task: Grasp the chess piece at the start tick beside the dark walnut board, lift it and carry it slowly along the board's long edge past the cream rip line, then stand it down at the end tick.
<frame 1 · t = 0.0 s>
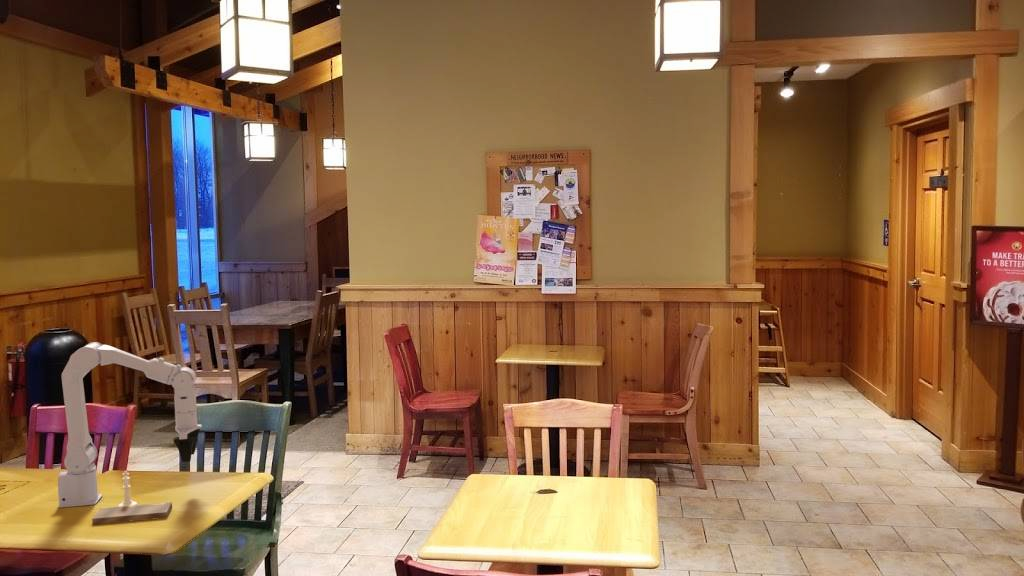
hand: (188, 458, 245), 10 cm above the table, tool pointing down, fingers open, 7 cm apart
walnut board: (133, 515, 228), on the table
chess piece: (127, 507, 235), on the table
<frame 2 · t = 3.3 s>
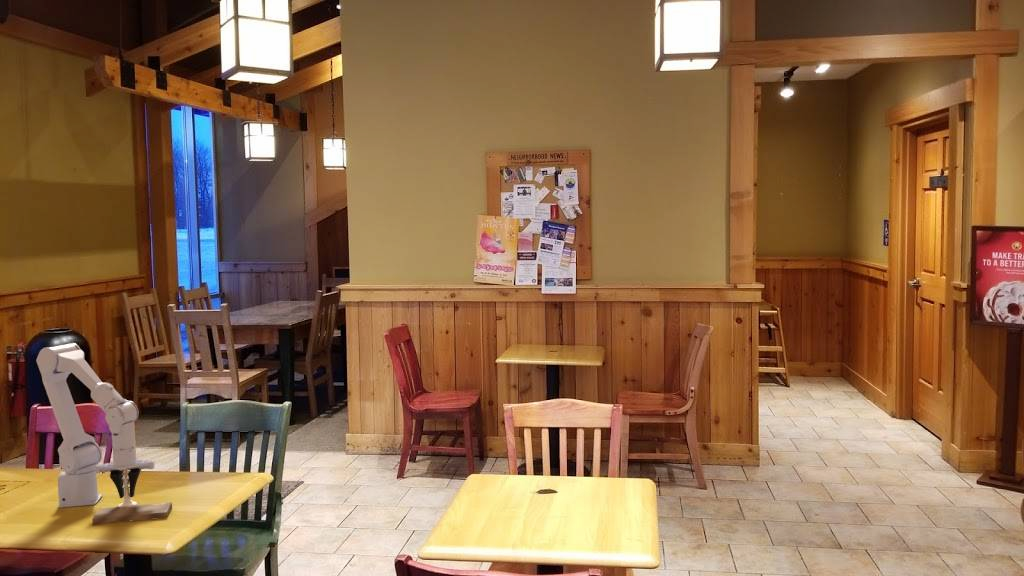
hand: (127, 496, 235), 3 cm above the table, tool pointing down, fingers closed on chess piece
chess piece: (127, 507, 235), on the table, touching gripper
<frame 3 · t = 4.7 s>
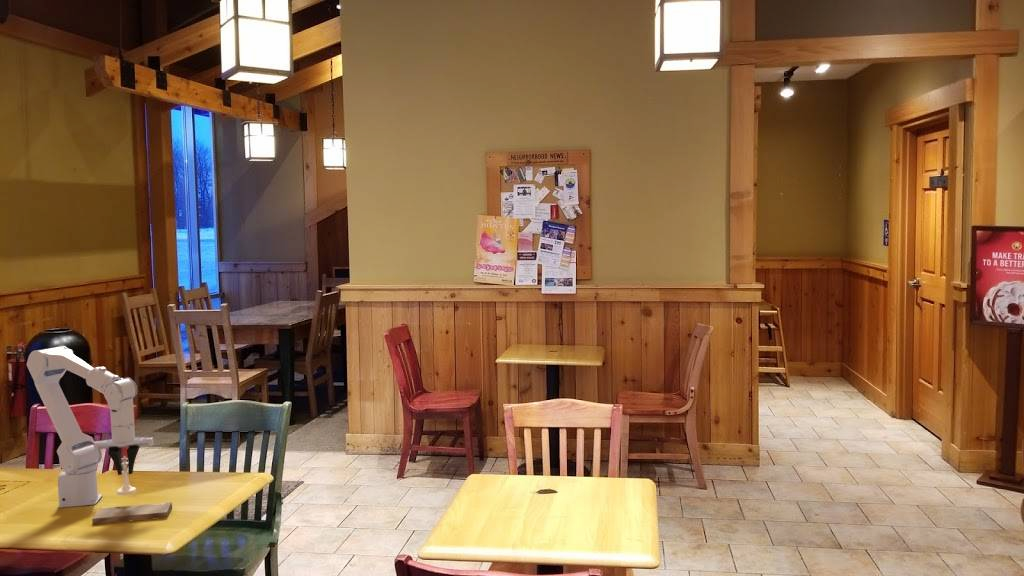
hand: (125, 473, 234), 9 cm above the table, tool pointing down, fingers closed on chess piece
chess piece: (126, 493, 235), point 4 cm above the table, touching gripper
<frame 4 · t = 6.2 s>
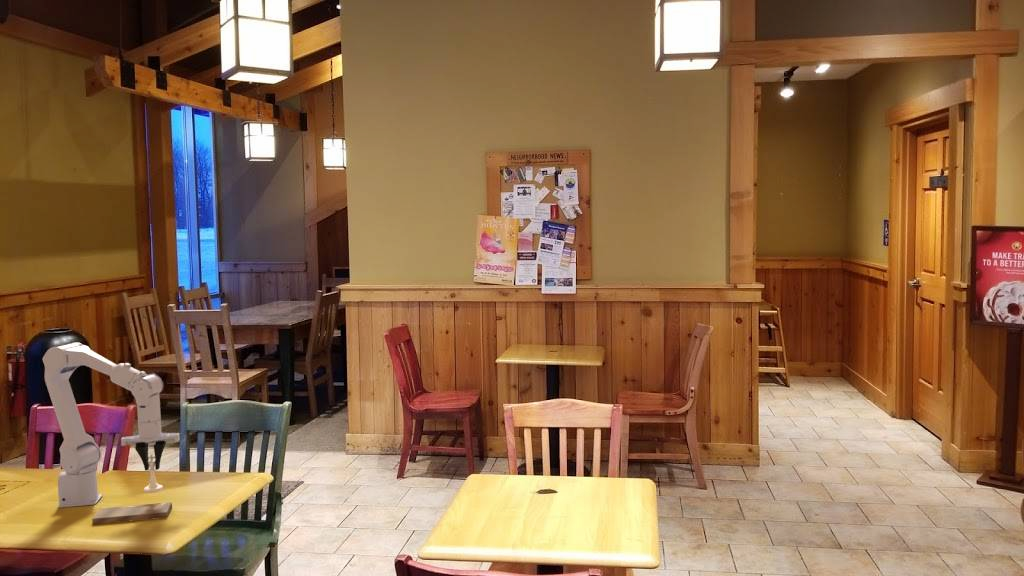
hand: (152, 469, 236), 10 cm above the table, tool pointing down, fingers closed on chess piece
chess piece: (153, 490, 236), point 4 cm above the table, touching gripper
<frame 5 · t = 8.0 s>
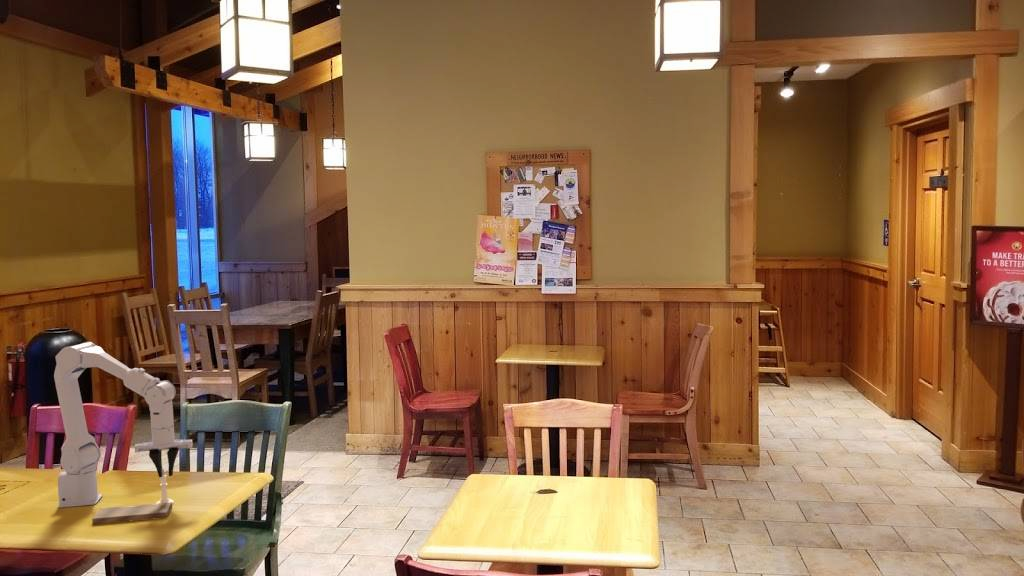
hand: (165, 475, 236), 8 cm above the table, tool pointing down, fingers closed
chess piece: (165, 505, 237), on the table, touching gripper
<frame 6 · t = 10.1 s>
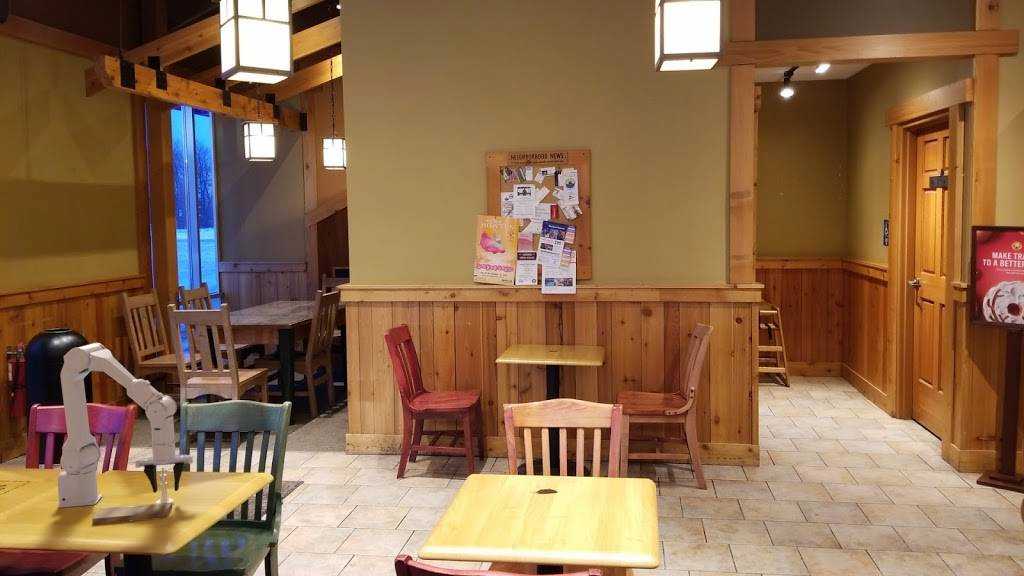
hand: (166, 490, 237), 4 cm above the table, tool pointing down, fingers open, 5 cm apart
chess piece: (164, 504, 237), on the table
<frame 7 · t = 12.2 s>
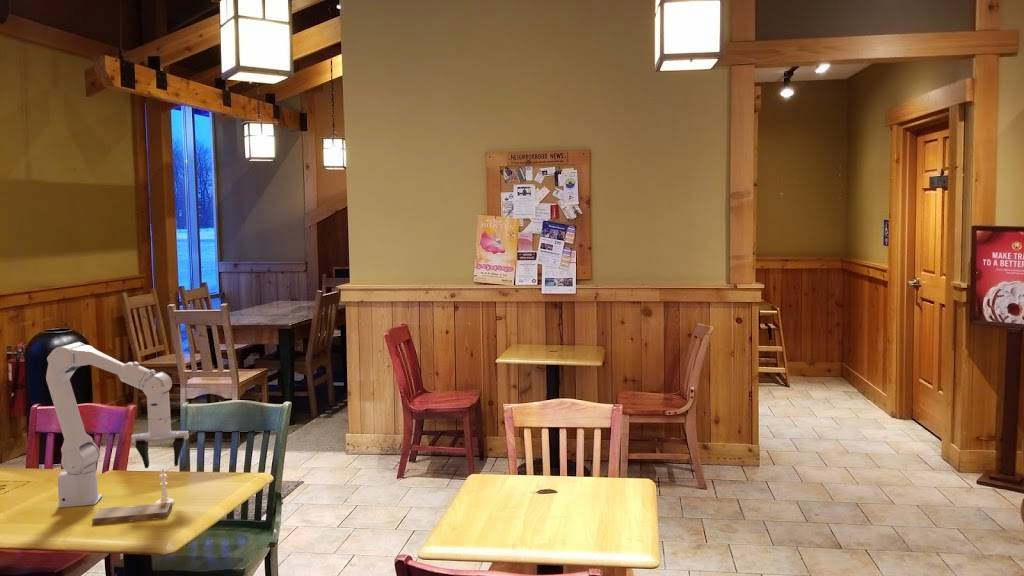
hand: (161, 466, 239), 10 cm above the table, tool pointing down, fingers open, 7 cm apart
nothing on the table moved.
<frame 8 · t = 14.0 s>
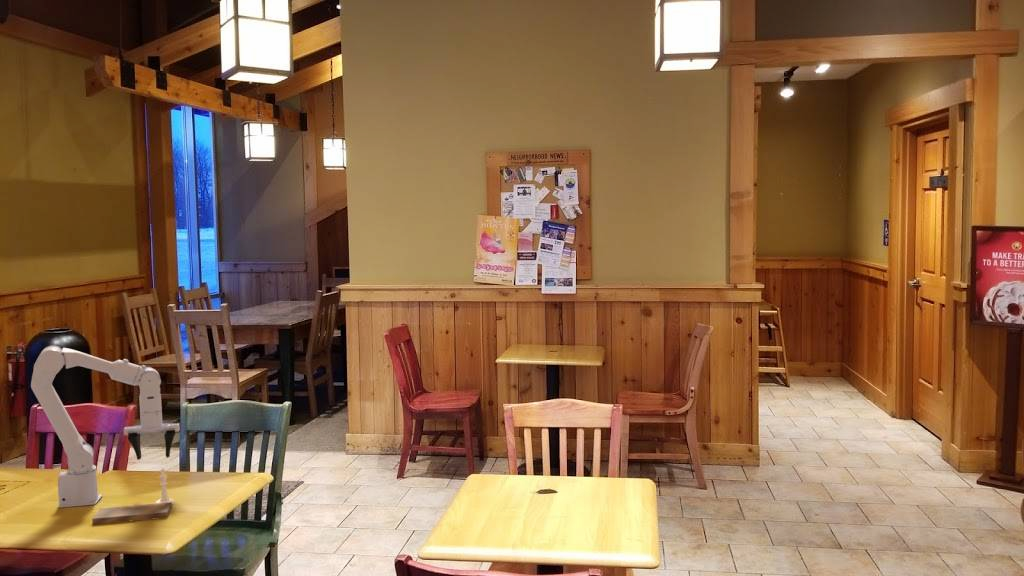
hand: (153, 457, 247), 10 cm above the table, tool pointing down, fingers open, 7 cm apart
nothing on the table moved.
at the end: chess piece 0.5 cm from the target spot, on the table; chess piece tilted 0°; the gripper is holding nothing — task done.
